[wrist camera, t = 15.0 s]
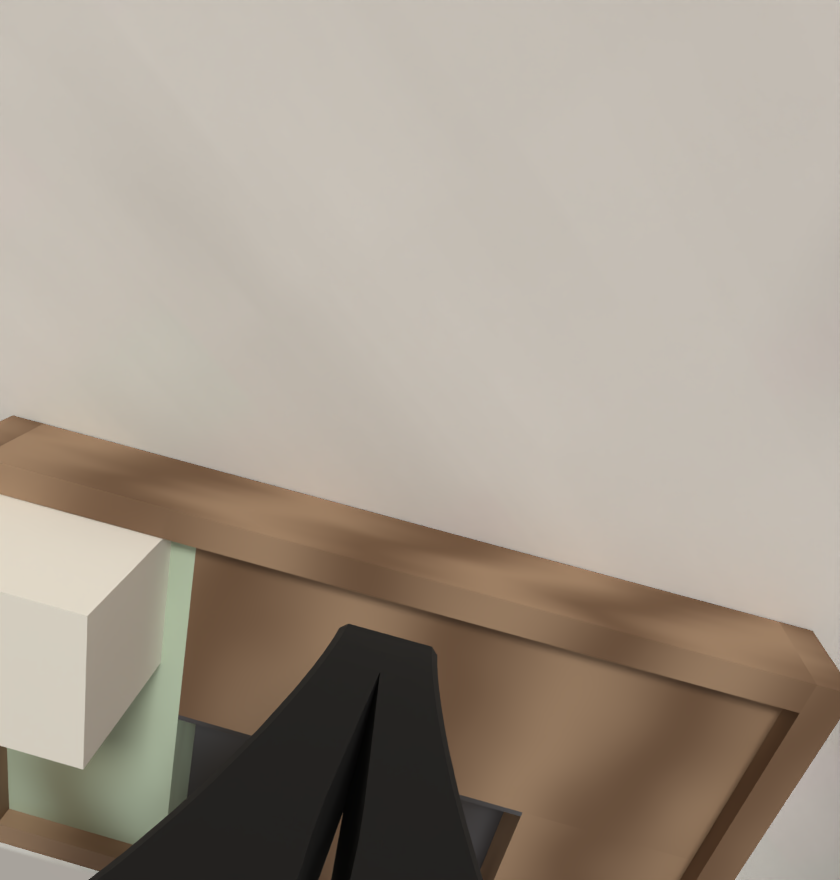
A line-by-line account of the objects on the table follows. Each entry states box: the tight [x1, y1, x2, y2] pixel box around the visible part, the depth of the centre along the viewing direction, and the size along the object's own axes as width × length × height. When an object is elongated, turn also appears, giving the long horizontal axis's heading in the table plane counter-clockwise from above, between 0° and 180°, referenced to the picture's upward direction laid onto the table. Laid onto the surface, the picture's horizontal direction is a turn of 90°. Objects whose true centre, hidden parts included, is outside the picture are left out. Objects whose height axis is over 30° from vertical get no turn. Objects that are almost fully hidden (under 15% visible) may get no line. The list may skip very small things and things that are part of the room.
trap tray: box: [0, 416, 840, 880], centre depth 22 cm, size 25×16×3 cm, turn 77°
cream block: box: [0, 494, 171, 769], centre depth 18 cm, size 5×5×4 cm
